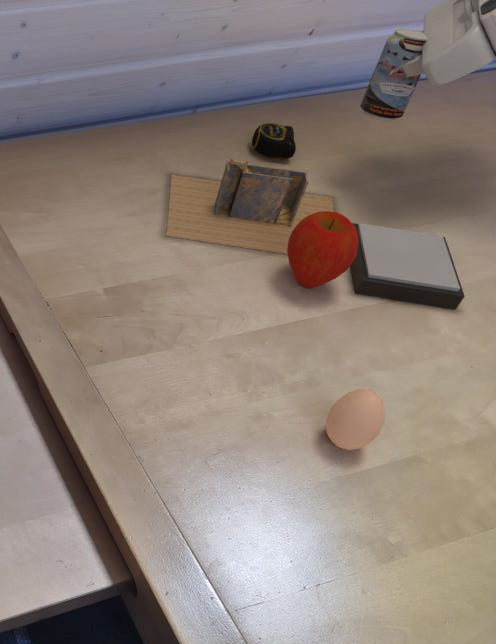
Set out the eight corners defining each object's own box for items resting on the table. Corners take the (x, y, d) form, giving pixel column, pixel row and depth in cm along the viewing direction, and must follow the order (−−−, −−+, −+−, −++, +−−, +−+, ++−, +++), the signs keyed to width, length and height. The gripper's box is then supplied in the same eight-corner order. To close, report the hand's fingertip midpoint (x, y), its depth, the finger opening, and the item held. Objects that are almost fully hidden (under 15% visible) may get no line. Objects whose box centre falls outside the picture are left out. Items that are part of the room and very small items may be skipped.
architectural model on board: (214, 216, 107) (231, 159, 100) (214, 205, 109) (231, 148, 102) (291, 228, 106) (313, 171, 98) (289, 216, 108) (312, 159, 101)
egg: (369, 465, 77) (402, 418, 71) (319, 457, 77) (348, 410, 71) (361, 427, 80) (393, 379, 74) (314, 419, 81) (341, 371, 75)
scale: (437, 250, 103) (447, 233, 101) (456, 309, 95) (468, 293, 92) (345, 236, 105) (353, 219, 103) (355, 293, 96) (364, 276, 94)
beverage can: (356, 122, 104) (390, 39, 96) (357, 100, 109) (389, 19, 100) (402, 130, 103) (440, 47, 94) (401, 108, 108) (437, 26, 99)
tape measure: (291, 165, 117) (298, 145, 115) (249, 159, 118) (255, 138, 116) (289, 144, 122) (297, 124, 119) (249, 138, 123) (255, 118, 120)
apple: (281, 256, 101) (307, 191, 93) (342, 274, 99) (374, 209, 91) (268, 291, 96) (294, 226, 88) (332, 312, 93) (365, 246, 85)
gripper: (489, -37, 98) (386, 22, 108) (496, 16, 85) (378, 78, 95) (507, 3, 101) (404, 57, 110) (516, 60, 87) (399, 116, 97)
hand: (392, 67), depth 102 cm, fingers closed on beverage can, 5 cm apart
